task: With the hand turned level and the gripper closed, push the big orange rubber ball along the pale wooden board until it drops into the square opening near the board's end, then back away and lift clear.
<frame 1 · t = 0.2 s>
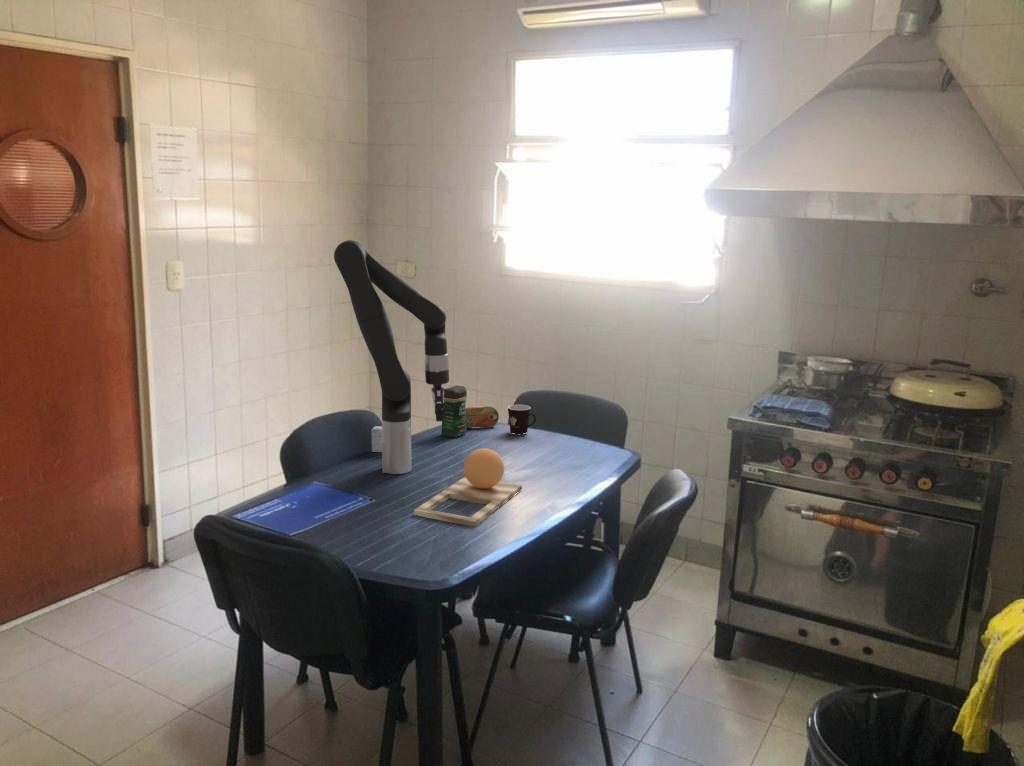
hand: (439, 417, 258), 18 cm above the table, tool pointing down, fingers open, 8 cm apart
coffee jar: (454, 435, 302), on the table
board: (470, 501, 234), on the table
tin: (479, 428, 313), on the table
coffee mug: (520, 434, 305), on the table
medicine box: (384, 452, 280), on the table
ball: (484, 468, 241), point 7 cm above the table, touching board
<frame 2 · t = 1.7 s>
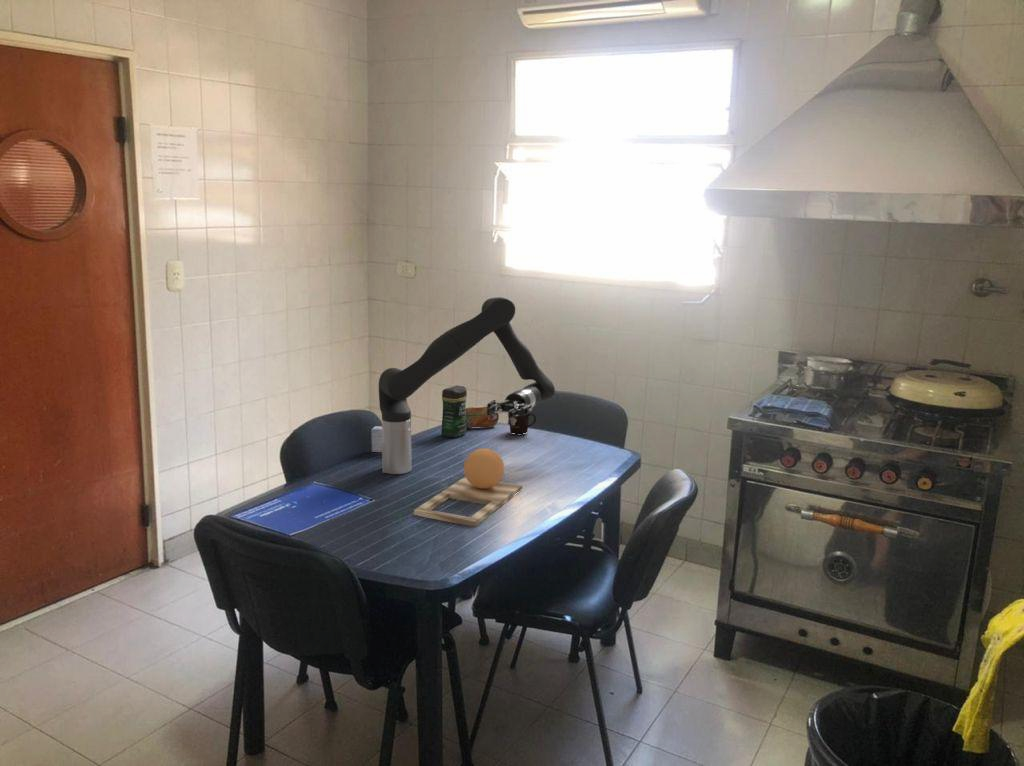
hand: (499, 413, 247), 22 cm above the table, tool horizontal, fingers open, 6 cm apart
nothing on the table moved.
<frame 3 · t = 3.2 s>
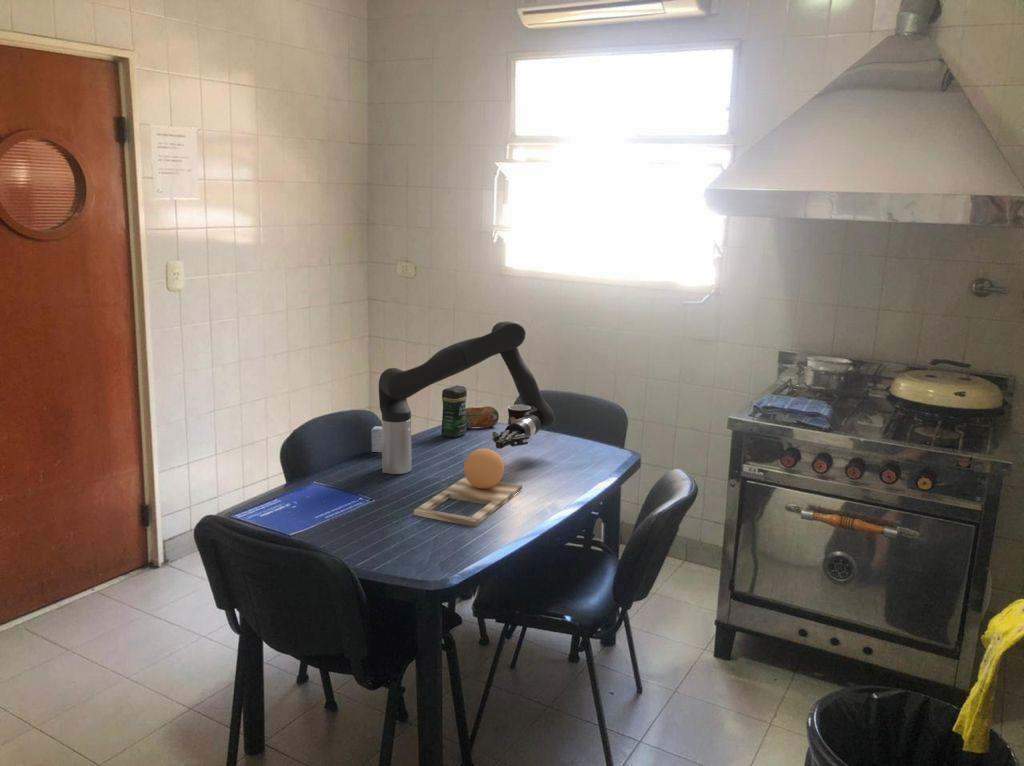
hand: (498, 445, 249), 12 cm above the table, tool horizontal, fingers closed
nothing on the table moved.
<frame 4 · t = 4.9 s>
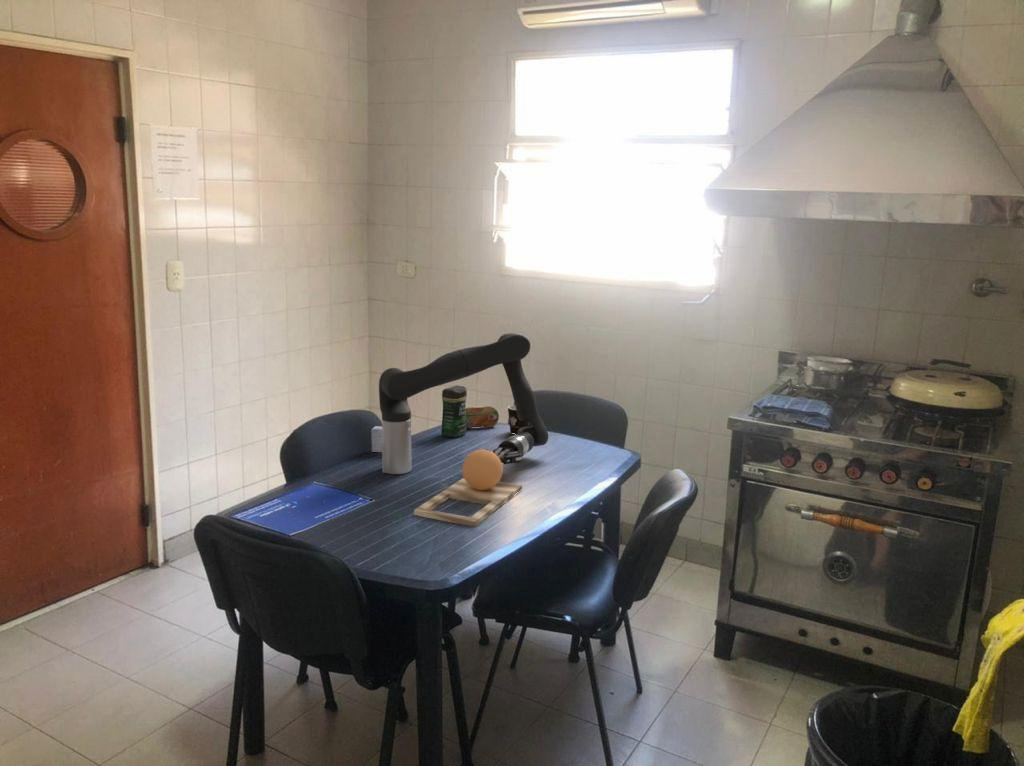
hand: (491, 463, 245), 8 cm above the table, tool horizontal, fingers closed
ball: (482, 469, 240), point 7 cm above the table, tilted 11°, touching board
everything else where it was.
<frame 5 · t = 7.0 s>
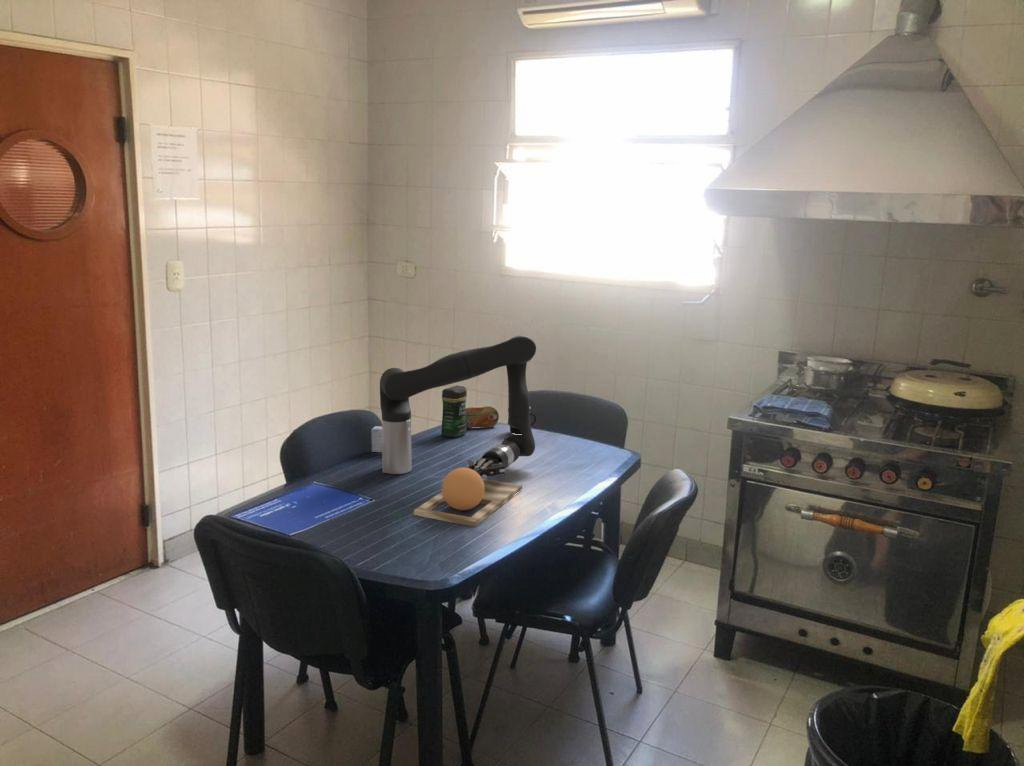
hand: (473, 475, 234), 8 cm above the table, tool horizontal, fingers closed
ball: (463, 488, 228), point 6 cm above the table, tilted 142°
everything else where it was.
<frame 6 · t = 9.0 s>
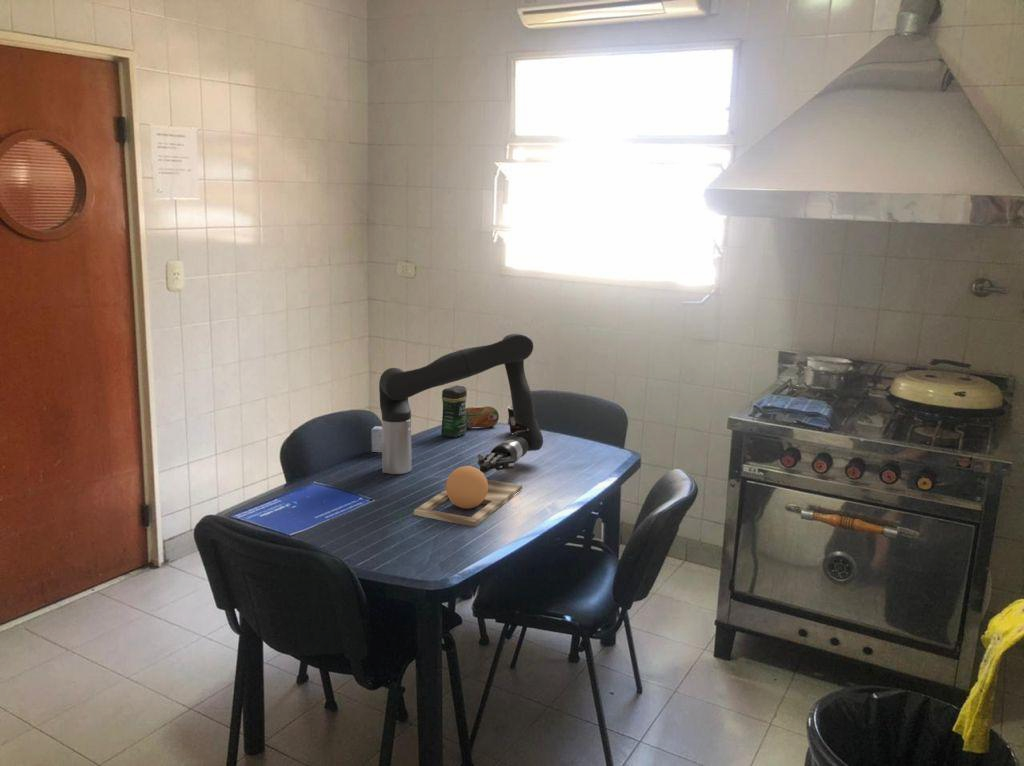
hand: (482, 469, 240), 7 cm above the table, tool horizontal, fingers closed
ball: (466, 487, 229), point 6 cm above the table, tilted 126°
everything else where it was.
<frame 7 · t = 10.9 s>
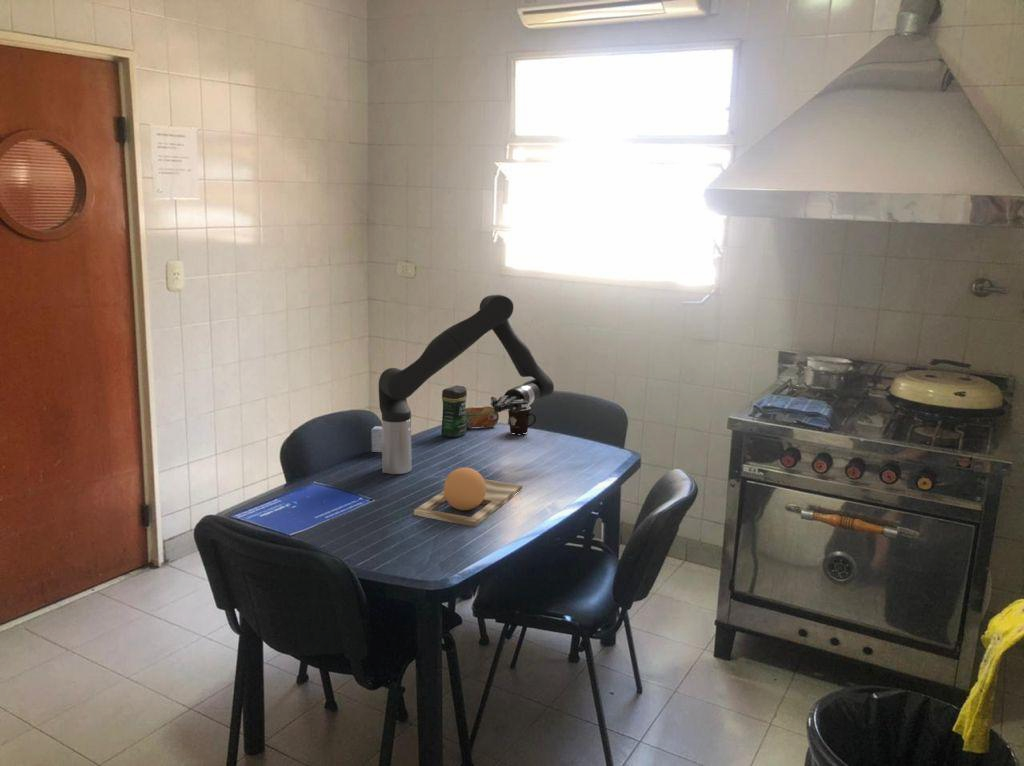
hand: (496, 408, 246), 24 cm above the table, tool horizontal, fingers closed
ball: (464, 488, 228), point 6 cm above the table, tilted 140°
everything else where it was.
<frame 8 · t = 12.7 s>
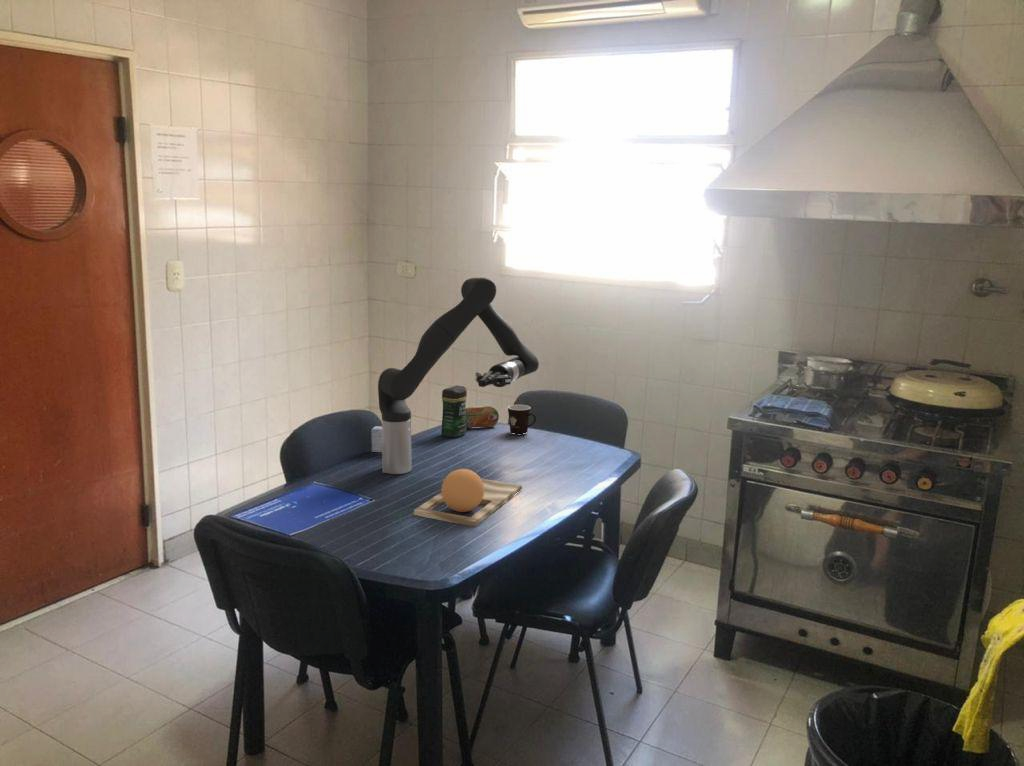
hand: (481, 383, 251), 30 cm above the table, tool horizontal, fingers closed
ball: (462, 490, 226), point 6 cm above the table, tilted 153°
everything else where it was.
at the end: ball inside the target area on the board (1.1 cm from its centre), point 6.0 cm above the board's base; ball touching table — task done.
